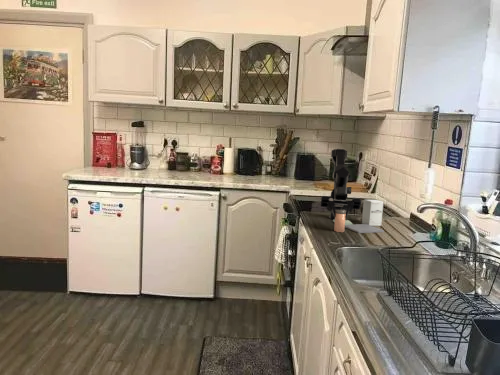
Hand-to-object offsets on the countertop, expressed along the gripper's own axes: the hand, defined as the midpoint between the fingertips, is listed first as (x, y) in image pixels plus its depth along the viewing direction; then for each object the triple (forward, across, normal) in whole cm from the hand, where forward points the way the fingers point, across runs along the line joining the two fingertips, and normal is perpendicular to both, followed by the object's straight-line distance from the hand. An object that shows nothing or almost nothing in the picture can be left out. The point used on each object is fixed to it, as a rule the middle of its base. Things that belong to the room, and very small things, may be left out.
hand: (340, 217), depth 206 cm
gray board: (-2, +12, +11) cm, 16 cm away
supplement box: (-11, +18, +21) cm, 29 cm away
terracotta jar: (+4, 0, +6) cm, 7 cm away
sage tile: (-9, +3, +19) cm, 21 cm away
